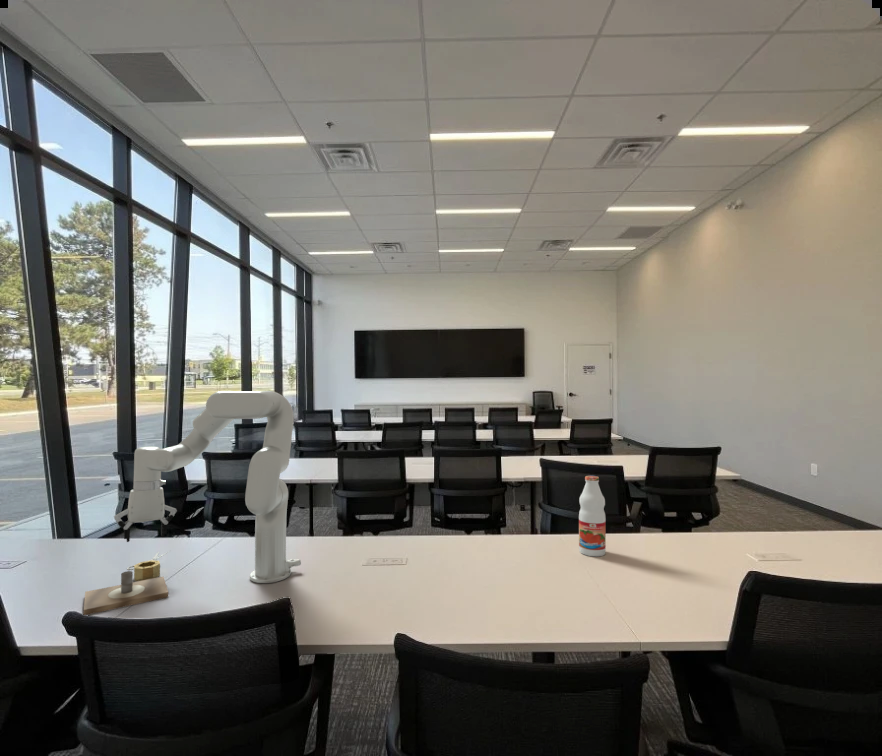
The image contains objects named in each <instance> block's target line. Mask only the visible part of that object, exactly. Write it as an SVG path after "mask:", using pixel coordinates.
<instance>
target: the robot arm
mask: <svg viewBox="0 0 882 756" xmlns="http://www.w3.org/2000/svg"><path fill="white" fill-rule="evenodd" d="M294 415H295V414H294V410H293V407H292V405H291V403H290V402H289V400H288V399H287V398H286V396H284V395H282V394H280V393H278V392H276V391H273V390H259V391H258V390H255V391H254V390H253V391H234V390H220V391H216V392H214V393H212V394H211V395H210V396H208V398H207V400H206V403H205V409H204V410H203V411H201V413H199V414H198V415H196V417H194V419H193V421H192V426H193V428H192V431H190V433H189V434H188V435H187V436H186V437H185V438H184V439H182V441H180V443H178V444H177V445H172V446H169V447H166V448H160V447H159V446H140V447H137V448H136V449H135V450H134V455H133V456H134V459H133V462H134V463H133V487H132V488H133V489H131V490H130V491H129V495H128V503H127V504H128V505H127V508H126V509H124V510H123V511H120V512H118V513H117V514H115V515H114V516H113V519H114V520H115V521H116V523H117V525H118V526H119V527H121V528H122V529H123V540H126V543H129V542H130V541H131V538H130V537H131V536H130V535H131V534H130V533H131V528H130V527H131V526H132V525H133V524H135V523H143V522H145V523H146V522H151V521H159V520H160V522H161V525H160V536H161V537H162V538H165V534H168V533H167V531H168V526H167V525H168V524H169V523H170V521H172V520H173V518H174V516H175V514H176V513H177V512H178V510H177V508H175V507H172V506H169V505H166V504H165V495H164V488H163V487H162V486H163V485H166V480H163V479H162V472H163V473H168V472H172V471H175V470H178V469H181V468H183V467H187V466H188V465H190V464H192V462H194V461H195V460H196V459H197V458H198V457H199V456H200V455H201V454H202V453H204V452H205V450H206V449H207V448H208V447H209V446H210V444H211V443H212V442H213V441H214V438H216V436H217V435H219V433H220V432H222V431H223V429H226V427H227V426H229V424H231V423H232V422H233V421H234V420H252V419H253V420H256V419H257V420H259V419H263V418H266V419H267V423H266V426H265V430H264V438H263V444H262V447H261V449H260V450H258V451H257V452H255V453H254V454H253V455H252V457H251V460H250V462H249V466H248V472H247V479H246V488H245V495H244V497H245V498H244V501H245V506H246V507H247V509H248V511H249V512H250V513H252V514H253V515H255V522H254V523H255V527H254V532H255V533H254V535H255V536H254V570H253V571H251V572H250V574H249V580H250V581H251V582H253V583H256V584H271V583H272V584H273V583H277V582H280V581H283V580H286V579H287V578H289V577H290V576H291V573H292V567H298V566H301V565H302V561H301V559H299V558H298V559H295V558H291V559H288V558H287V511H288V510H287V509H288V503H289V502H288V500H289V489H288V486H287V484H286V482H285V481H284V480H282V479H281V478H280V476H281V474H282V473H283V472H285V471H286V470H287V469H288V467H289V465H290V459H291V457H290V456H291V446H292V439H293V438H292V437H293V429H294ZM165 511H168V512H170V513H169V514H168V515H167V517H165ZM124 516H127V521H123V520H122V519H121V518H124Z"/></svg>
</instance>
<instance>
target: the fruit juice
mask: <svg viewBox="0 0 882 756" xmlns="http://www.w3.org/2000/svg"><path fill="white" fill-rule="evenodd" d="M584 481H585V485H584V487H583V489H582V492H581V493H580V496H579V500H578V501H579V505H580V506H579V507H580V509H579V511H578V513H579V514H578V549H579V552H580V553H581V554H583V555H584V556H589V557H602V556H605V554H606V546H607V545H606V543H607V542H606V540H607V539H606V520H607V519H606V512H605V510H604V508H605V506H606V499H605V496H604V494H603V493H602V491H601V488H600V484H599V482H600V478H599V476H596V475H586V476H585V477H584Z"/></svg>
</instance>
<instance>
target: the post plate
mask: <svg viewBox="0 0 882 756" xmlns="http://www.w3.org/2000/svg"><path fill="white" fill-rule="evenodd" d="M120 575H121V576H120V584H118V585H112V586H108V587H103V588H98V589H93V590H87V591H85V592H84V602H83V603H84V605H83V616H89V615H93V614H97V613H102V612H106V611H111V610H114V609H115V610H116V609H120V608H124V607H125V608H126V607H129V606H134V605H139V604H143V603H147V602H153V601H157V600H162V599H166V598H169V590H168V586H167V583H166V580H165V577H164V576H159V577H157V578H153V579H148V580H143V581H134V571H132V570H126V571H123V572H122V573H121V574H120Z"/></svg>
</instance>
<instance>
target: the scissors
mask: <svg viewBox="0 0 882 756" xmlns="http://www.w3.org/2000/svg"><path fill="white" fill-rule="evenodd" d="M169 552H171V550H169V551H167V552H164V553H163V554H161V555H159V553H160V551H157V552H156V554H155V555H154V556H153V557H152V558H151V559H149V560H148V561H150V560H155V561H157V560H158V559H160V558H161V557H162V556H165V555H166V554H167V553H169ZM134 565H135V564H134ZM134 565H130V566H128V567H127V568H126V571H132V570H133V571H134Z"/></svg>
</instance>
